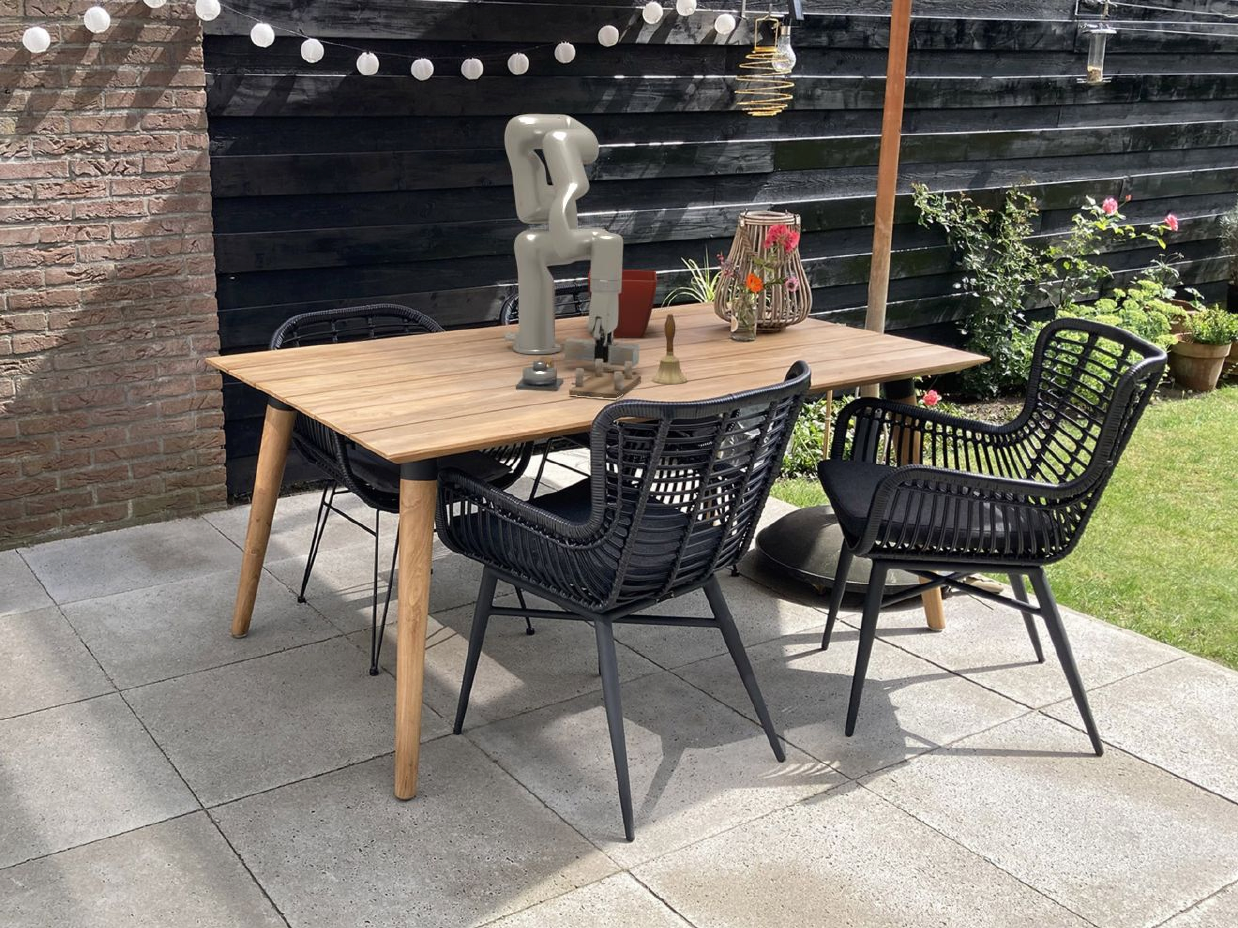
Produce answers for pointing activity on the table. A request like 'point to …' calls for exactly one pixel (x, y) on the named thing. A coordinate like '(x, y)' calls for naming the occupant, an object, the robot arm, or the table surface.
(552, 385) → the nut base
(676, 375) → the hand bell
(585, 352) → the grey joined blocks
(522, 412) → the table surface
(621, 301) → the plant pot
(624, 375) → the rack
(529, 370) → the domed call bell
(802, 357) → the table surface
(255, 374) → the table surface
